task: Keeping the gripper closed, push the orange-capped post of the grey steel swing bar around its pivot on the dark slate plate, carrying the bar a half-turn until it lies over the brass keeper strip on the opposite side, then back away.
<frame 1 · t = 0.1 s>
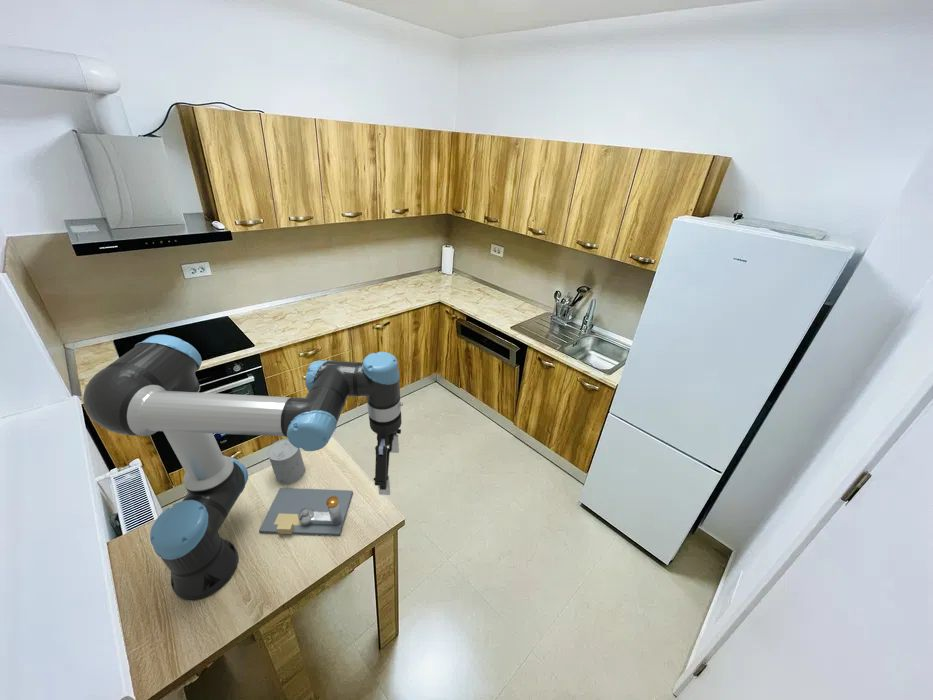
hand: (389, 471, 99), 28 cm above the table, fingers open, 13 cm apart
grey cylinder: (290, 473, 129), on the table
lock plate: (308, 522, 115), on the table
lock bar: (318, 510, 111), point 6 cm above the table, hinge at 0.0°
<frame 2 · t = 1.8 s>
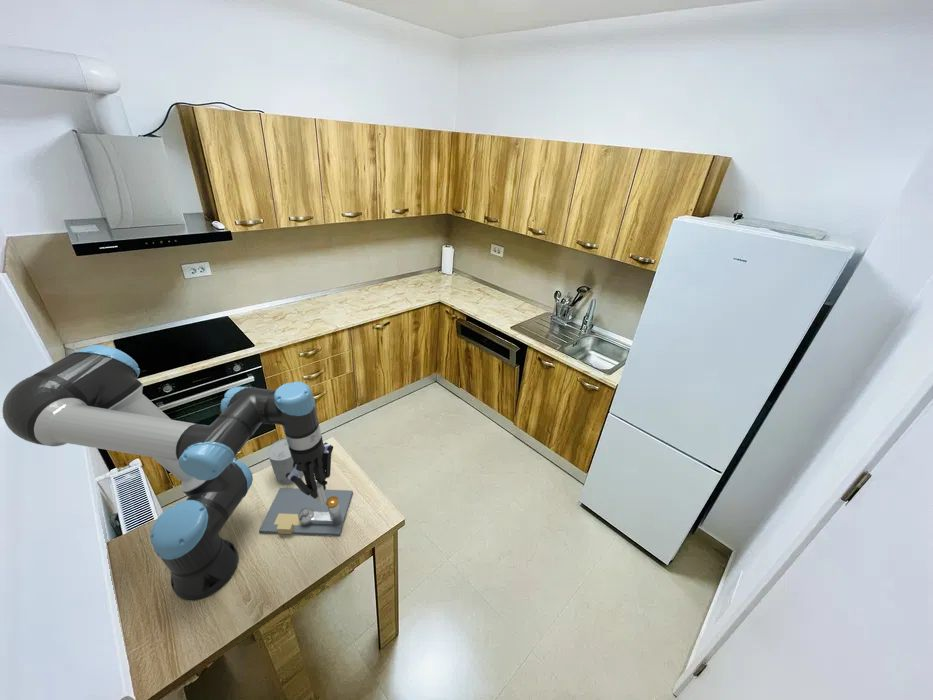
hand: (320, 500, 101), 18 cm above the table, fingers closed
nothing on the table moved.
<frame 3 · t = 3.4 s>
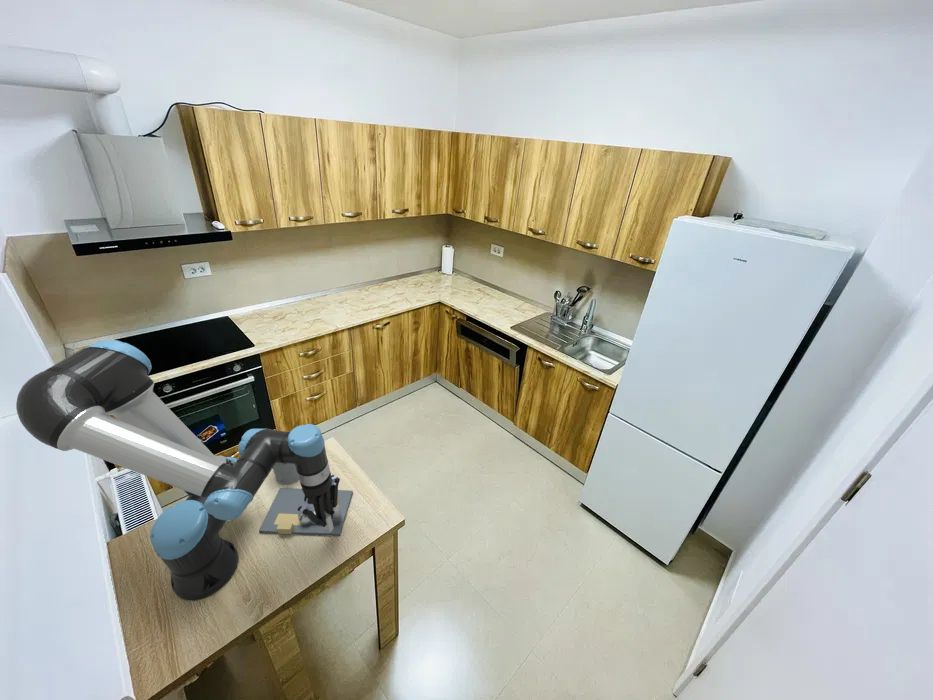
hand: (328, 528, 108), 5 cm above the table, fingers closed
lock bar: (318, 510, 111), point 6 cm above the table, hinge at 0.7°, touching gripper
everything else where it was.
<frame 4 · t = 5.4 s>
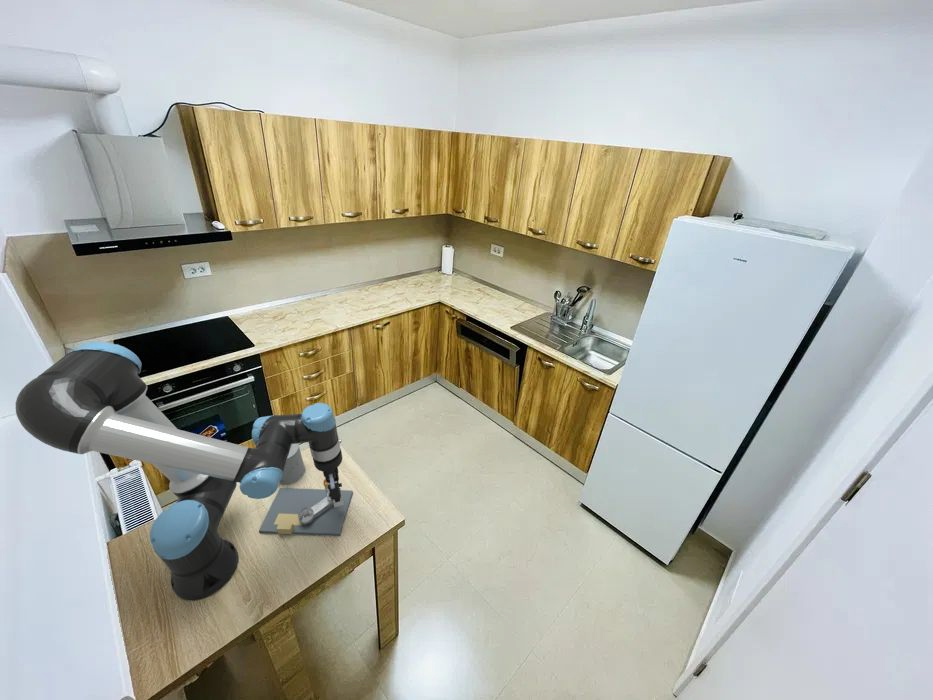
hand: (338, 504, 115), 5 cm above the table, fingers closed
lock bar: (317, 500, 114), point 6 cm above the table, hinge at 48.2°, touching gripper
everything else where it was.
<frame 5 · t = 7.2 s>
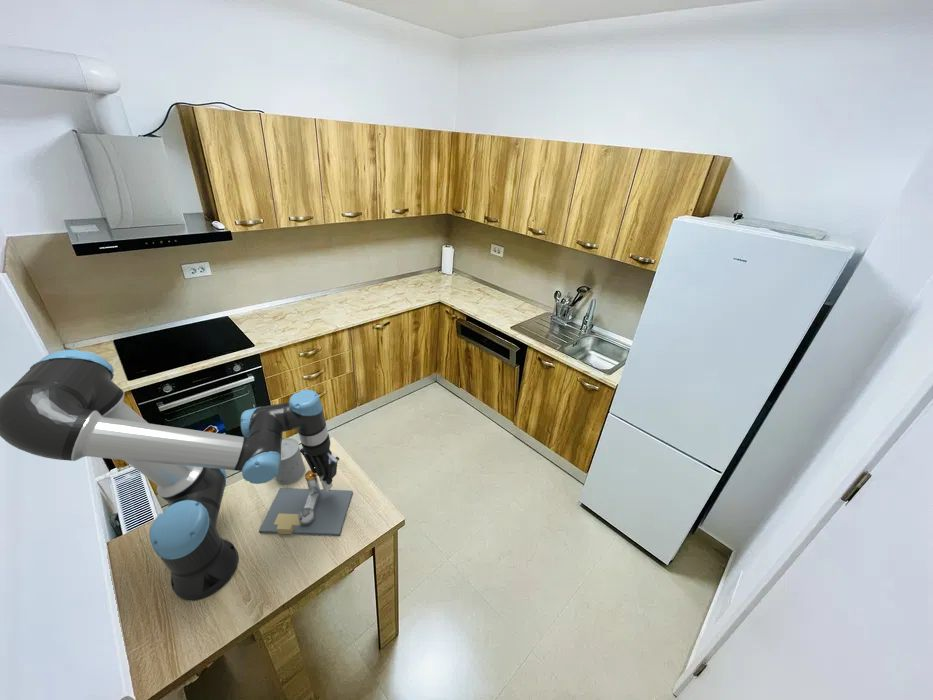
hand: (328, 488, 119), 5 cm above the table, fingers closed
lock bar: (308, 497, 115), point 6 cm above the table, hinge at 93.2°, touching gripper
everything else where it was.
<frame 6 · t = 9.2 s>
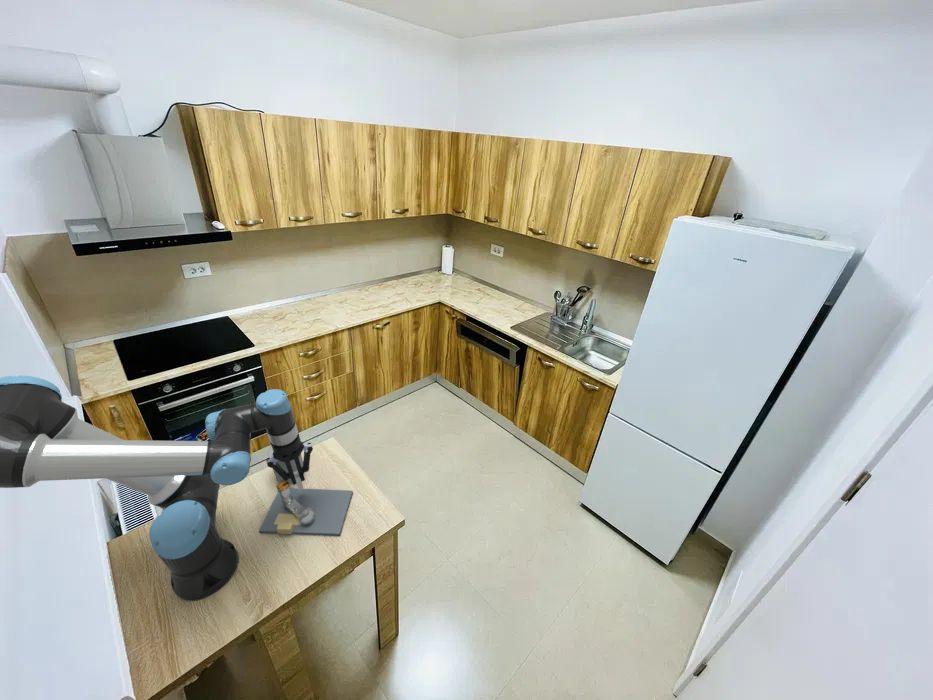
hand: (300, 487, 119), 5 cm above the table, fingers closed
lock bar: (295, 502, 113), point 6 cm above the table, hinge at 147.2°, touching gripper
everything else where it was.
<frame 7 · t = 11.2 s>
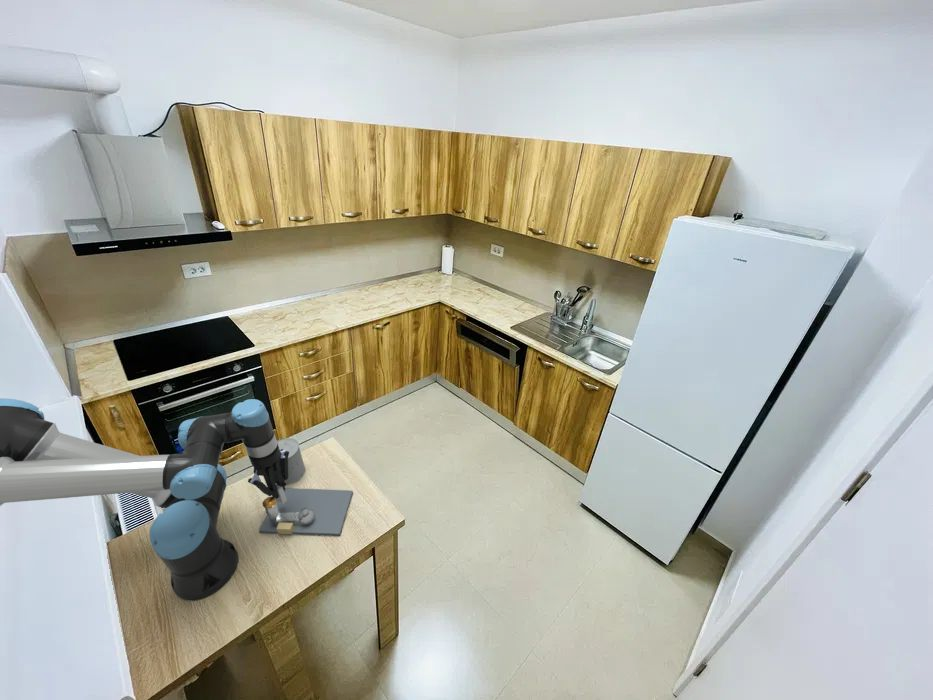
hand: (281, 500, 115), 5 cm above the table, fingers closed
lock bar: (289, 510, 110), point 6 cm above the table, hinge at 186.2°, touching gripper
everything else where it was.
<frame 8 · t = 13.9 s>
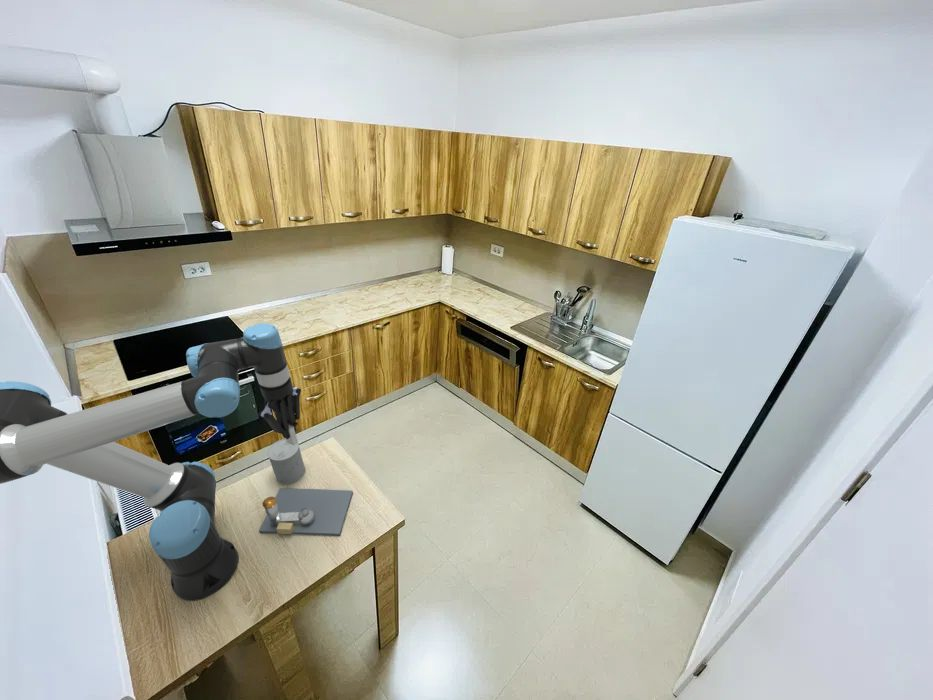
hand: (292, 442, 109), 24 cm above the table, fingers closed
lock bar: (289, 510, 110), point 6 cm above the table, hinge at 186.3°
everything else where it was.
at the end: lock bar at +186° (first picture: +0°) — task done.
